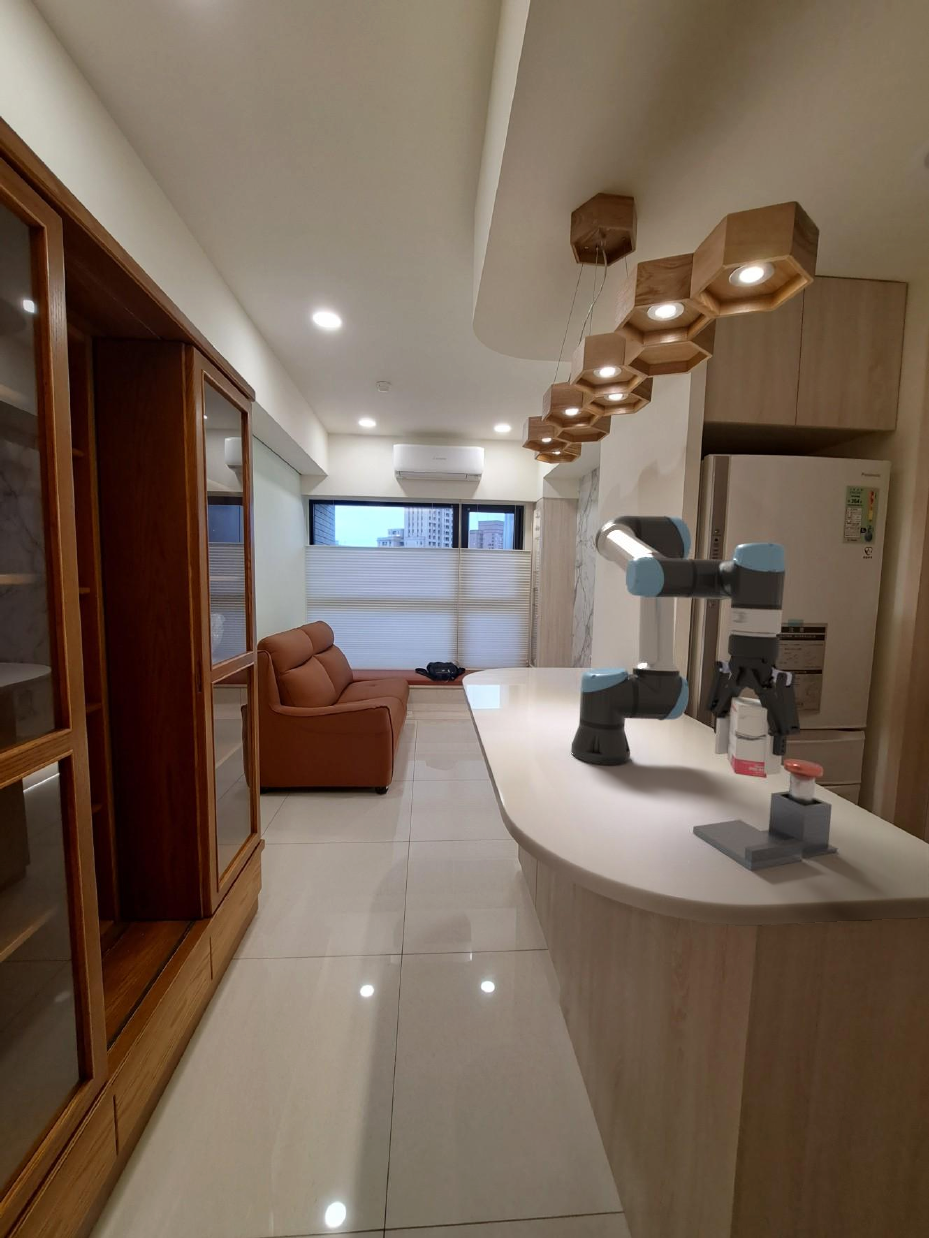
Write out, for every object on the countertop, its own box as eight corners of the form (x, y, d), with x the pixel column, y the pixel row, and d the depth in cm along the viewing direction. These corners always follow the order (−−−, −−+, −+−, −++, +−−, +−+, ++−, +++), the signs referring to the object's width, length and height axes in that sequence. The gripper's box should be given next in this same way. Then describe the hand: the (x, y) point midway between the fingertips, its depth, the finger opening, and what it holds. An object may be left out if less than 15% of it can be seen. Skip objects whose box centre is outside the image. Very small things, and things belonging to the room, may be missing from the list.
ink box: (767, 779, 77) (772, 708, 76) (733, 774, 79) (737, 704, 78) (756, 762, 85) (761, 698, 84) (726, 758, 87) (730, 695, 86)
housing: (760, 834, 86) (763, 791, 86) (792, 828, 89) (795, 787, 88) (803, 858, 79) (806, 811, 78) (837, 851, 81) (840, 806, 81)
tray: (693, 832, 86) (694, 815, 86) (739, 825, 89) (740, 809, 89) (750, 870, 75) (752, 850, 74) (801, 860, 78) (803, 841, 78)
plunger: (773, 809, 85) (776, 760, 85) (795, 806, 87) (799, 757, 86) (803, 824, 80) (807, 771, 79) (827, 820, 82) (831, 769, 81)
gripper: (688, 628, 90) (681, 744, 91) (800, 640, 69) (790, 790, 70) (719, 629, 92) (712, 741, 94) (837, 640, 71) (826, 785, 73)
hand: (745, 762), depth 82 cm, fingers closed on ink box, 9 cm apart
